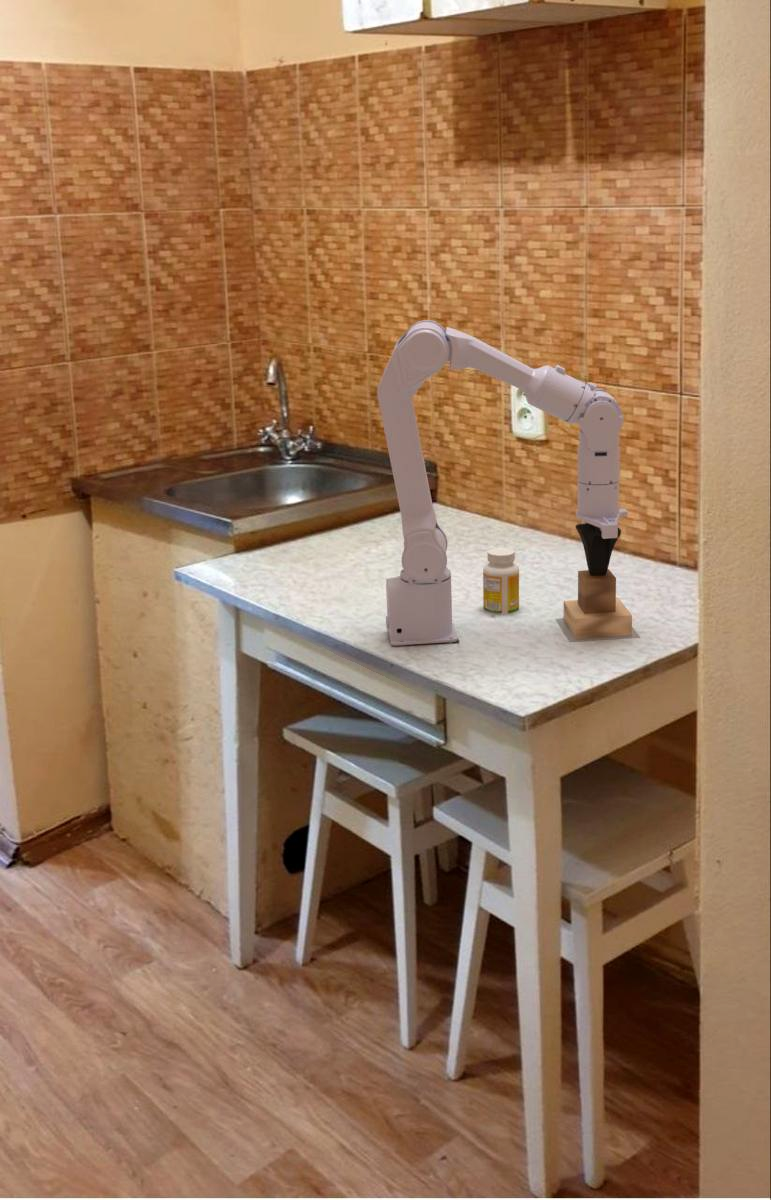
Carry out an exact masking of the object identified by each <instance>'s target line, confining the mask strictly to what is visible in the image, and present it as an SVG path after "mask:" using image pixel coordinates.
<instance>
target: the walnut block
mask: <svg viewBox="0 0 771 1200" xmlns="http://www.w3.org/2000/svg"><path fill="white" fill-rule="evenodd" d="M616 598H617V577H616V576H615V575H614V574H613V573H612V571H611V570H610V569H609V568H608V570H607V573H606V575H603V576H591V575H590V573H589V570H588V569H587V570H586V569H585V570H577V600H578V605H579V606H580V608H581V609H582V611H583V612H584V614H591V613H607V612H616Z"/></svg>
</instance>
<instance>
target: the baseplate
mask: <svg viewBox="0 0 771 1200" xmlns="http://www.w3.org/2000/svg"><path fill="white" fill-rule="evenodd" d="M555 621H556V622H557V624H558V626H559V628H560V629H561V631H562V632H563V634H564V635H565V637H566V639H567V640H568V642H569V643H577V642H579V643H580V642H595V641H610V640H613V641H614V640H626V639H641V638H642V637H641V636H640V634H639V633H638V632H637V631H636V630H635V627H633V626H632V635H631V636H615V637H599V638H583V639H575V638H574V636H573V635H572V633H571V632H570V630H569V628H568V627H567V625H566V624H565V622H564V617H562V618H555Z"/></svg>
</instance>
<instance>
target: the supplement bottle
mask: <svg viewBox="0 0 771 1200" xmlns="http://www.w3.org/2000/svg"><path fill="white" fill-rule="evenodd" d="M515 557H516V555H515V550H514V549H512V548H507V547H497V548H490V549H488V551H487V564H485V565H484V566H483V568H482V570H483V571H482V581H483V582H482V583H483V584H482V588H483V591H482V592H483V593H482V594H483V599H482V600H483V604H482V607H483V609H482V610H483V612H485V613H487V614H490V615H497V616H506V615H511V614H515V613H517V612H518V611H519V610H520V569H519V566H518V565H517V563H514V561H515V559H516V558H515Z"/></svg>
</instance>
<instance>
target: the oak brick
mask: <svg viewBox="0 0 771 1200" xmlns="http://www.w3.org/2000/svg"><path fill="white" fill-rule="evenodd" d="M563 618H564V622H565V624H566V625H567V627H568V628H569V630H570V632H571V633H572V635H573V636H574V638H575V639H583V638H599V637H615V636H631V635H632V627H633V615H632V613H631V611H629V609H628V608H627V607H626V605H624V603H623V602H622V600H621V599H620V598H619V597H616V612H607V613H591V614H584V612H583V611H582V609H581V608H580V606H579V605H578V599H574V600H564V601H563Z"/></svg>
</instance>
